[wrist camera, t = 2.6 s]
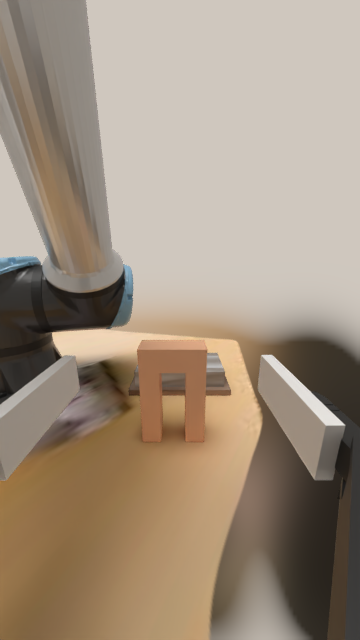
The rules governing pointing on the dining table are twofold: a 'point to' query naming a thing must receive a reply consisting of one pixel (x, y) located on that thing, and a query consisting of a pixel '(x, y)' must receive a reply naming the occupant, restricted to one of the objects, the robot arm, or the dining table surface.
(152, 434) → the tan arch block
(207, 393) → the grey socket block
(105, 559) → the dining table surface
